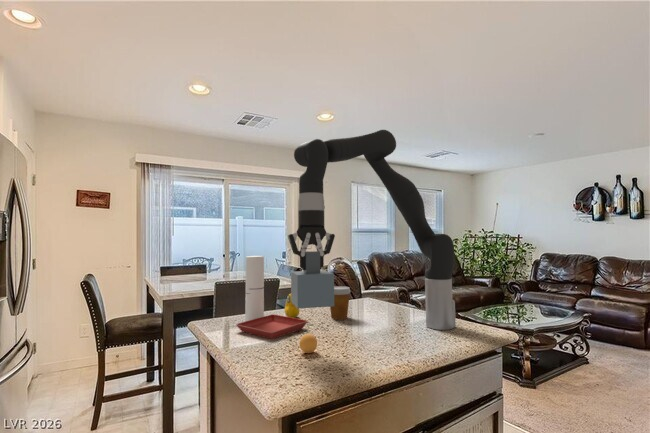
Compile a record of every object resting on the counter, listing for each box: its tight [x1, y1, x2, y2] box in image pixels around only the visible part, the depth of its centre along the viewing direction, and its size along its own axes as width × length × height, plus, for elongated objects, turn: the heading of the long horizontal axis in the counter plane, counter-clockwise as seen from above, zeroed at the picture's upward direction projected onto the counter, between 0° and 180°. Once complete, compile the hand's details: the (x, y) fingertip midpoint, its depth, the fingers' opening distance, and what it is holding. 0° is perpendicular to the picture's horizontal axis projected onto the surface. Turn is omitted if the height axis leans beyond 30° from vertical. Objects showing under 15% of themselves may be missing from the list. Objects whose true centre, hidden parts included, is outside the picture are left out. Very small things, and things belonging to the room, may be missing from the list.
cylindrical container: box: [244, 255, 265, 322], centre depth 138 cm, size 7×7×25 cm
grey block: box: [290, 250, 335, 310], centre depth 99 cm, size 10×10×15 cm
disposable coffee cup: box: [329, 285, 352, 321], centre depth 140 cm, size 10×10×12 cm
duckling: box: [284, 292, 300, 319], centre depth 141 cm, size 11×5×10 cm, turn 21°
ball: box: [299, 333, 318, 354], centre depth 98 cm, size 5×5×5 cm
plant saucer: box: [235, 313, 308, 340], centre depth 122 cm, size 18×18×3 cm
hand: (311, 269), depth 99 cm, fingers closed on grey block, 4 cm apart
